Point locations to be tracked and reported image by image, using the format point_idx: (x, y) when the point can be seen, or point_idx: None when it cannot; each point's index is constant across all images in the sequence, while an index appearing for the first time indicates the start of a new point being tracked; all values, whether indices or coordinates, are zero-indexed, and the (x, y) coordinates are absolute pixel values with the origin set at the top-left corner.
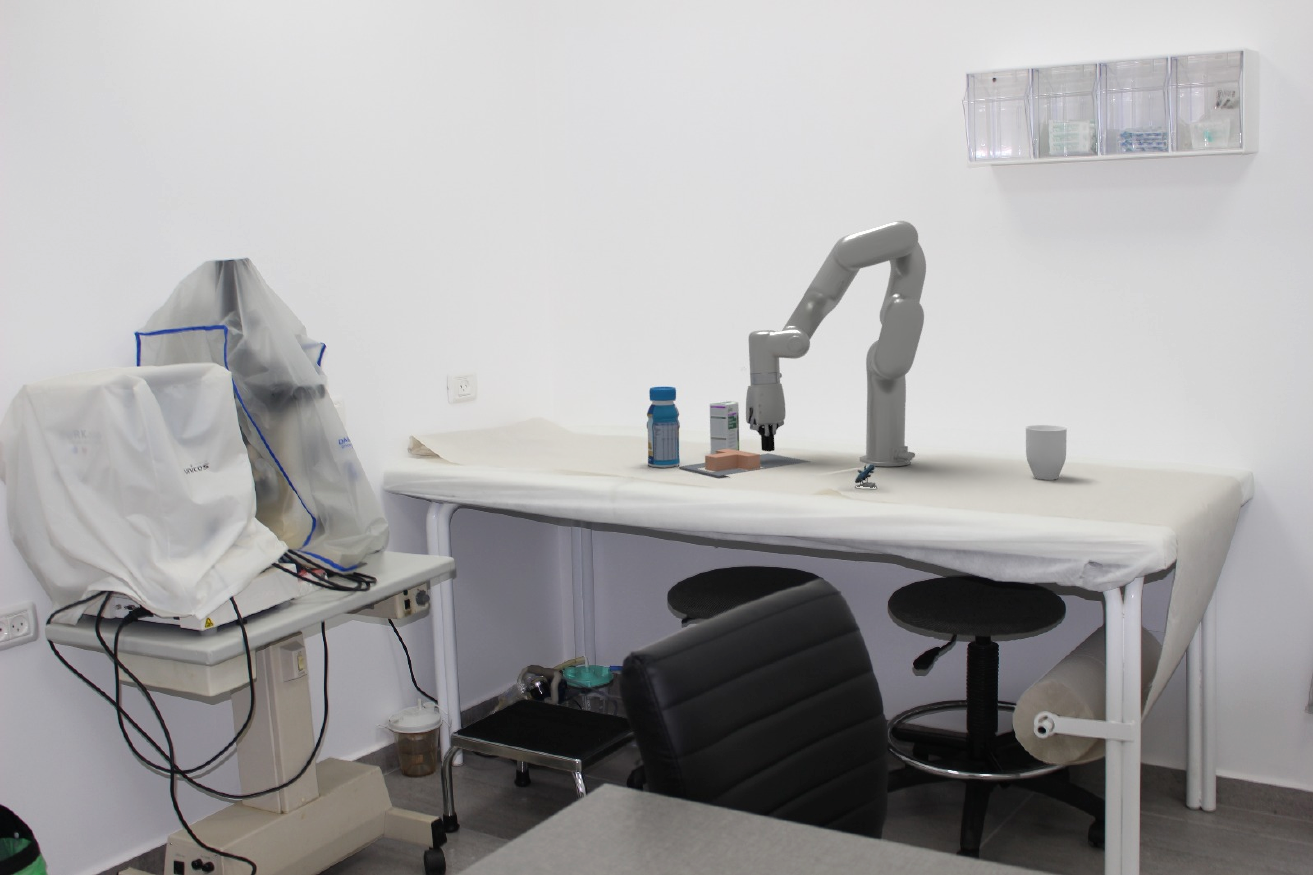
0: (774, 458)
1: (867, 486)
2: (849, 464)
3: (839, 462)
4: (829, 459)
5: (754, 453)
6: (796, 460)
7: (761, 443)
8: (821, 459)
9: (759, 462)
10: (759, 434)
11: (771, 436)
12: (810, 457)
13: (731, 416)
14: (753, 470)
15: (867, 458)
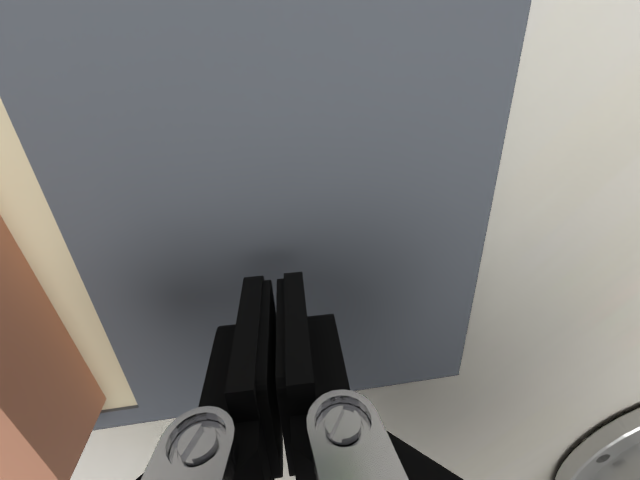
0: (381, 209)
1: None
2: (544, 430)
3: (562, 390)
4: (611, 321)
5: (37, 455)
6: (427, 330)
7: (212, 350)
8: (591, 304)
9: (86, 433)
10: (170, 436)
11: (291, 475)
12: (620, 229)
13: None
14: None
15: (608, 467)
